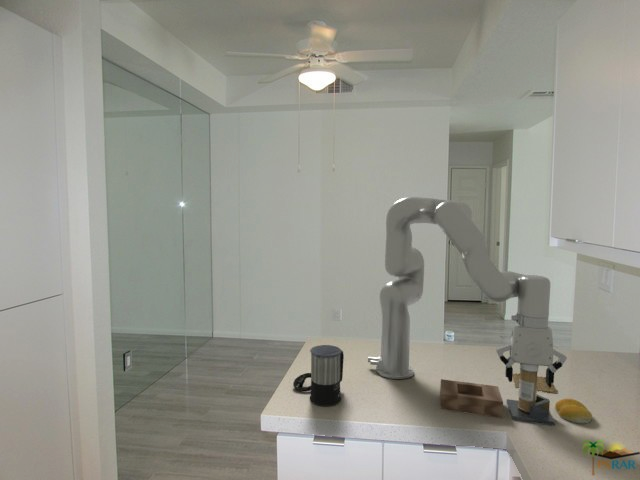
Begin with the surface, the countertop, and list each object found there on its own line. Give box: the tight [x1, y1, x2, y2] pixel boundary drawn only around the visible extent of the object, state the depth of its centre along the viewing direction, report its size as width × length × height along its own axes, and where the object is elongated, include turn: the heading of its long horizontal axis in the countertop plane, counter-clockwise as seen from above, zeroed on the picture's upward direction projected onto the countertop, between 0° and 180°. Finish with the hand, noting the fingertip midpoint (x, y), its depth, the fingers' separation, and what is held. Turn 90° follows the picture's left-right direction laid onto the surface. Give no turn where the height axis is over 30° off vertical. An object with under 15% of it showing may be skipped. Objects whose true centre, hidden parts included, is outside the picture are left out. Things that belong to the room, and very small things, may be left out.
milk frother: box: [292, 344, 344, 407], centre depth 122 cm, size 14×16×15 cm
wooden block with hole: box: [439, 378, 504, 419], centre depth 116 cm, size 16×10×4 cm, turn 74°
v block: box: [506, 394, 555, 426], centre depth 112 cm, size 10×11×4 cm
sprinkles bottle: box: [517, 363, 539, 413], centre depth 112 cm, size 5×5×13 cm
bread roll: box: [554, 398, 593, 424], centre depth 111 cm, size 8×9×4 cm
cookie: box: [512, 372, 558, 395], centre depth 132 cm, size 12×12×1 cm
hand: (528, 382), depth 112 cm, fingers open, 9 cm apart
